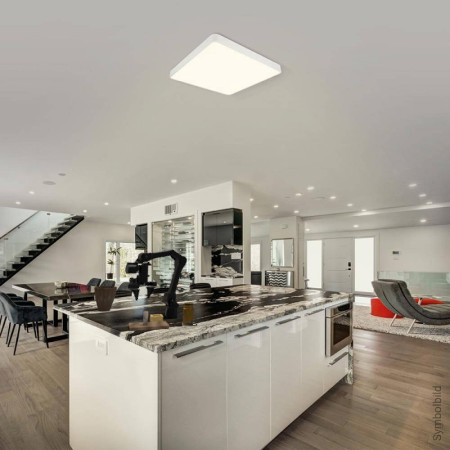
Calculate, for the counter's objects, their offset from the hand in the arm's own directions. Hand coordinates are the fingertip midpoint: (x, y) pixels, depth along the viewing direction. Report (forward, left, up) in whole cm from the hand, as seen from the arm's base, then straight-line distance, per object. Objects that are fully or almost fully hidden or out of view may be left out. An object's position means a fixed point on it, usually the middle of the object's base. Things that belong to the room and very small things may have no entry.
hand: (142, 299), depth 178 cm
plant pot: (+21, -39, -12) cm, 46 cm away
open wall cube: (-8, +5, -12) cm, 15 cm away
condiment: (-25, +17, -13) cm, 33 cm away
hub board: (-2, +18, -12) cm, 22 cm away
